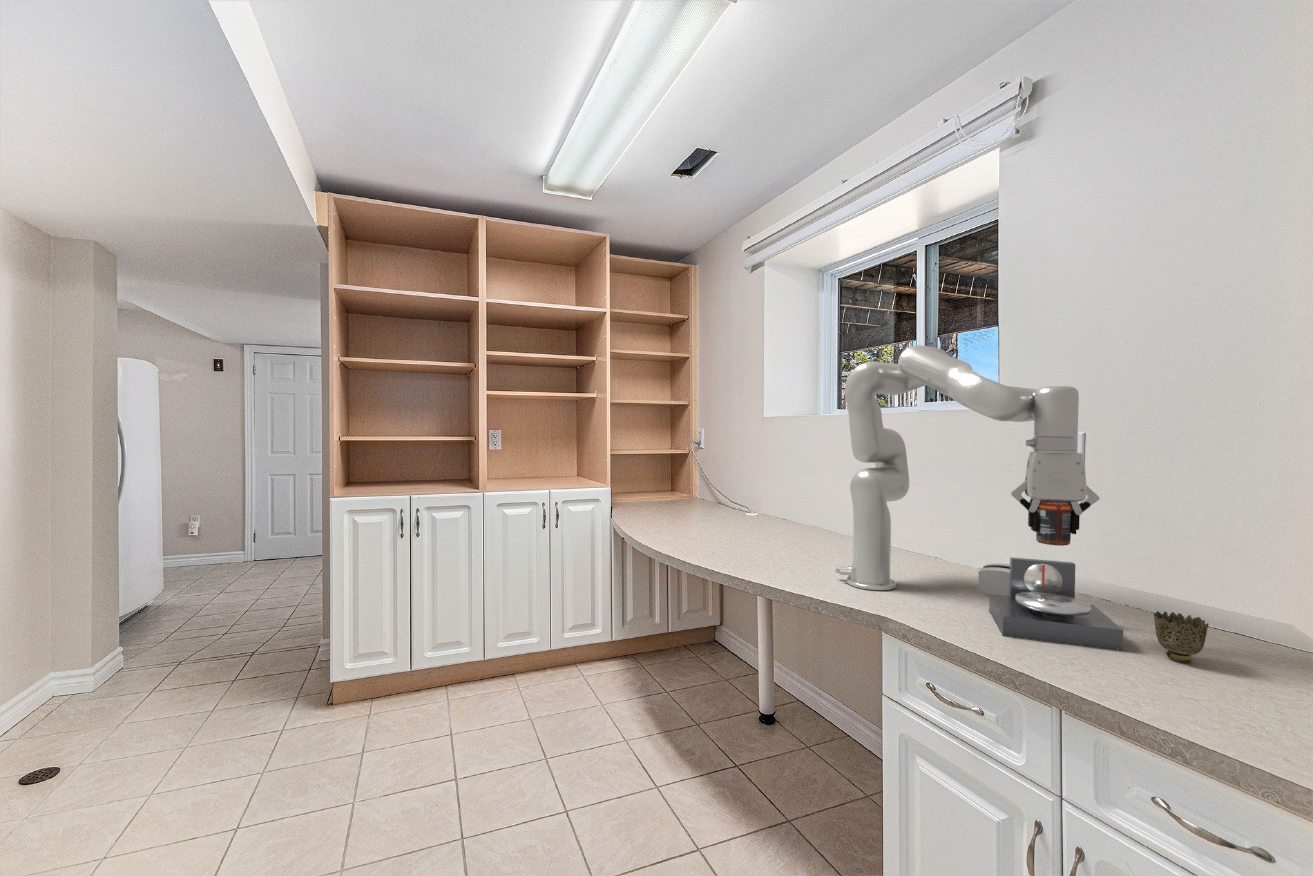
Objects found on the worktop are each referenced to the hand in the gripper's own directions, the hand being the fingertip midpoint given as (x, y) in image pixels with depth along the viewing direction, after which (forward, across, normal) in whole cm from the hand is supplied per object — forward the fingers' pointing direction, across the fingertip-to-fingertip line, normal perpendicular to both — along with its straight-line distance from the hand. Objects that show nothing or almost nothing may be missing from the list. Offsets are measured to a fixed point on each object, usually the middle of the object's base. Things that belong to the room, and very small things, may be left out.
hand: (1053, 531), depth 120 cm
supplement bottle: (+3, 0, 0) cm, 3 cm away
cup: (+21, +18, -9) cm, 29 cm away
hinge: (+22, -2, +22) cm, 31 cm away
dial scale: (+21, 0, +1) cm, 21 cm away
